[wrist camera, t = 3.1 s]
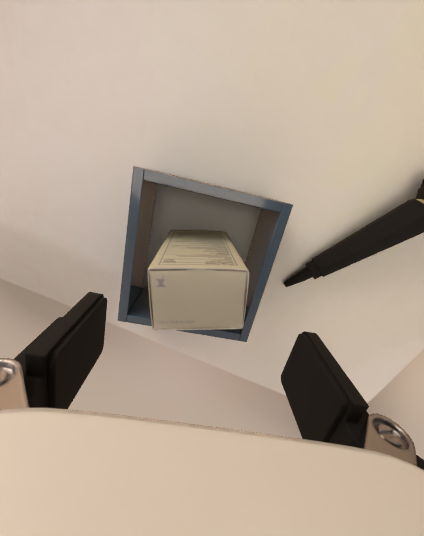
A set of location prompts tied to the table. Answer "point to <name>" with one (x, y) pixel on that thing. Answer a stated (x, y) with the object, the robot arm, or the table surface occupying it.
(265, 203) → the open box
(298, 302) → the table surface
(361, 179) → the table surface
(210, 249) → the cosmetic box
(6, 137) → the table surface
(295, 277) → the microphone
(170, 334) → the table surface
